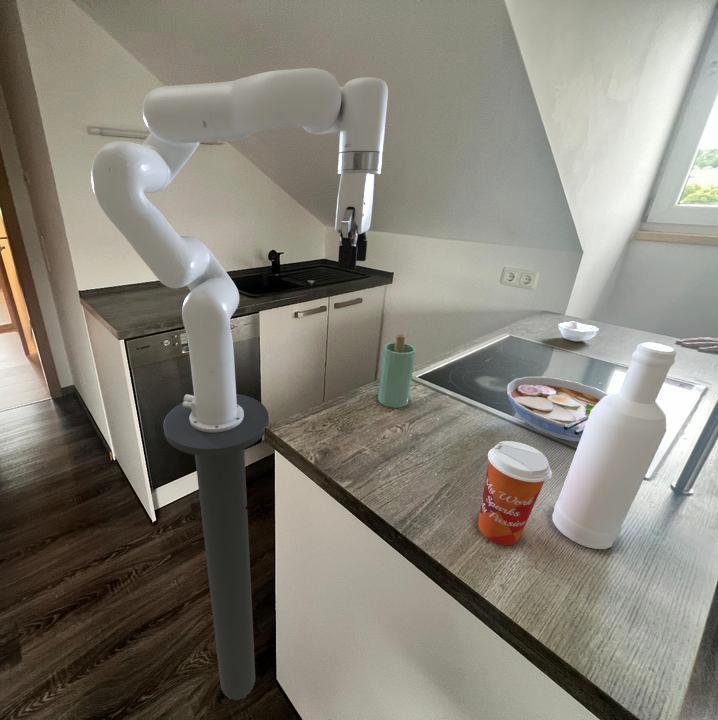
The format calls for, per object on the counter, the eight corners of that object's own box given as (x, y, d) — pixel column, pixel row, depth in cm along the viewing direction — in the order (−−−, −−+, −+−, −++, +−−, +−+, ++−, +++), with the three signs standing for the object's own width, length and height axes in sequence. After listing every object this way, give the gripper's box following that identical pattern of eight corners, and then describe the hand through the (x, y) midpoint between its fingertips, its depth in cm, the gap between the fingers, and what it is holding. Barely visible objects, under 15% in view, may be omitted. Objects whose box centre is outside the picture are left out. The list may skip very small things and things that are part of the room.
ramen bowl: (537, 394, 99) (546, 364, 95) (648, 440, 80) (663, 406, 77) (473, 419, 87) (481, 387, 84) (585, 480, 69) (600, 442, 66)
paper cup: (462, 530, 59) (481, 455, 53) (481, 503, 64) (500, 432, 58) (518, 562, 54) (546, 483, 48) (534, 530, 59) (561, 455, 53)
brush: (384, 399, 94) (392, 337, 87) (386, 392, 97) (393, 332, 90) (399, 401, 93) (408, 339, 86) (400, 394, 96) (409, 334, 89)
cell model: (602, 345, 130) (609, 326, 128) (566, 344, 131) (572, 325, 128) (582, 335, 140) (588, 317, 137) (548, 334, 140) (553, 316, 137)
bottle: (617, 560, 54) (712, 365, 42) (551, 535, 58) (621, 350, 46) (610, 522, 60) (691, 343, 48) (551, 502, 64) (612, 331, 52)
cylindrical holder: (375, 404, 93) (381, 351, 88) (380, 391, 100) (386, 340, 94) (406, 410, 91) (414, 355, 85) (409, 396, 97) (417, 344, 92)
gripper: (349, 168, 76) (343, 256, 83) (325, 162, 61) (321, 270, 68) (388, 167, 74) (379, 259, 81) (372, 161, 59) (363, 274, 66)
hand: (352, 264), depth 75 cm, fingers open, 9 cm apart
